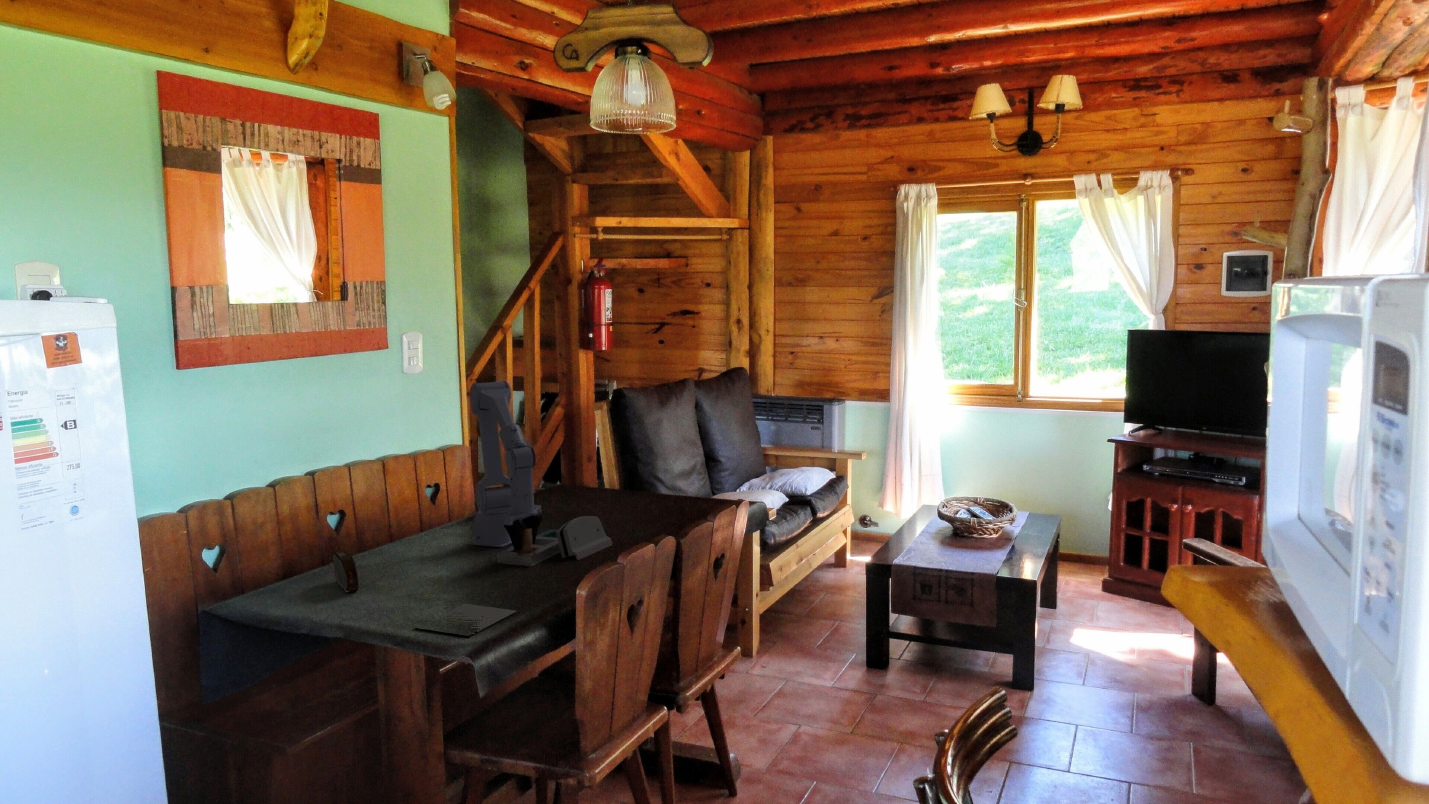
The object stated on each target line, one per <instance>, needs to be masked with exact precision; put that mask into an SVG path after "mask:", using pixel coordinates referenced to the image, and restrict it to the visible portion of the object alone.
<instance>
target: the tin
mask: <svg viewBox="0 0 1429 804" xmlns="http://www.w3.org/2000/svg"><path fill="white" fill-rule="evenodd" d="M331 557H332V560H333V561H332V562H333V566H334V569H333V570H334V577H335V579H336V582H337V581H338V582H339V583H340V584H341V585H342V587H343V588H344V589H345V590H346V591H352V592H355V591H354V590H357V591H358V590H359V576H358V570H357V566H356V562H355V560H354V558H353V556H352V555H351V553H349V552H348V550H347V549H345V548H342V549H339V550H338V549H337V550H334V551H333V552H332V556H331ZM338 582H337V583H338ZM342 587H341V588H342Z"/></svg>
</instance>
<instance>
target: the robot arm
mask: <svg viewBox="0 0 1429 804" xmlns="http://www.w3.org/2000/svg"><path fill="white" fill-rule="evenodd" d="M468 394H469V404H470V409H471V413H472V414H473V415H475V416H477V419H478V425H479V426H478V427H479V433H480V442H481V452H482V459H483V467H484V468H483V469H484V476H483V477H482V478H481V479H480V480H479V481H478V482H477V483H476V485H475V504H476V507H477V509H478V511H477V512H476V514H475V515H474V518H473V528H474V529H473V530H474V531H473V532H474V533H473V534H474V542H472V544H473V546H484V547H493V548H494V547H496V548H505V547H507V546H509V545H511V544H512V546H513V548H514V550H522V548H523V535H524V530H525V527H530V528H532V544H535V541H536V536H537V535H538V530H539V528H540V525H541V522H542V520H543V515H542V505H540V504H535V497H534V494H535V493H534V476H533V475H534V473H533V472H534V471H533V469H534V468H535V467H536V464H537V457H536V452H535V448H534V447H533V445H531V443H529V442H527V441H526V438H525V436H524V433H523V431H522V429H521V426H520V425H518V424H516V423H515V422H514V418H513V415H512V412H511V408H510V404H511V399H512V388H511V386H510V383H508V381H507V380H502V381H494V382H493V381H491V382H473V383H472V385H470V389H469V393H468ZM498 427H499V428H500V429H499V428H498ZM500 441H501V442H500ZM501 444H502V447H503V449H504V452H505V458H504V460H505V465H506V470H507V475H504V470H503V462H502V461H503V460H502V453H501ZM498 485H499V486H498ZM500 485H502V486H500ZM493 486H495V487H493ZM540 513H541V514H540Z"/></svg>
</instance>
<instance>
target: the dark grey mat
mask: <svg viewBox="0 0 1429 804" xmlns="http://www.w3.org/2000/svg"><path fill="white" fill-rule="evenodd" d="M450 610H451V611H450ZM450 610H448V611H446V612H445V613H449V614H447V615H455V616H456V615H457V616H465V617H459V618H460V619H461V618H462V619H467V620H468V619H469V620H470V619H471V620H478V621H467V622H477V625H476V623H475V625H474V623H473V625H474V626H479V627H471V628H478V629H480V630H477V633H478V632H480V631H482V630H485V629H486V628H487V627H488V628H489V626H491V625H494V624H495V623H498V622H499V621H501V620H502V619H505V618H507V617H509V616H511V615H513V614H515V613H517V610H515V609H508V608H507V609H506V608H499V607H493V606H492V607H491V606H485V605H478V604H470V603H463V604H461V605H458V606H457V607H455V608H452V609H450ZM452 610H453V611H452ZM452 612H454V613H455V612H456V613H462V614H453V613H452ZM463 613H464V614H463ZM445 615H446V614H445ZM466 616H467V617H466ZM482 616H483V617H482ZM445 618H446V617H445ZM448 618H449V617H448ZM450 618H457V617H450ZM459 618H458V619H459ZM479 620H480V621H479ZM481 620H482V621H481ZM462 622H463V621H462ZM464 622H465V621H464ZM479 622H480V623H479ZM473 625H472V626H473ZM470 626H471V625H470ZM470 634H471V633H470ZM472 634H473V635H474V634H476V633H472Z"/></svg>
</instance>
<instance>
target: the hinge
mask: <svg viewBox="0 0 1429 804" xmlns="http://www.w3.org/2000/svg"><path fill="white" fill-rule="evenodd" d="M557 530H558V531H557V533H556V535H557V539H558V543H559V547H560V552H559V553H560V555H561V559H565V558H567V557H572V556H575V559H576V561H577V560H578V561H579V560H582V559H584V558H586V557H588V556H591V555H593V554H595V553H597V552H600V551H602V550H604V549H607V548H609V547H611V546H613V541H612V538H611V537H609V536H608V535H607V534H606V531H605V529H604V527H603V524H602V522H601V520H600V518H599V517H598V516H594V515H584V516H579V517H576V518H573V519H571V520H569V521H567V522H565V524H563V525H562V526H560V527H559V528H558V529H557Z"/></svg>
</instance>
